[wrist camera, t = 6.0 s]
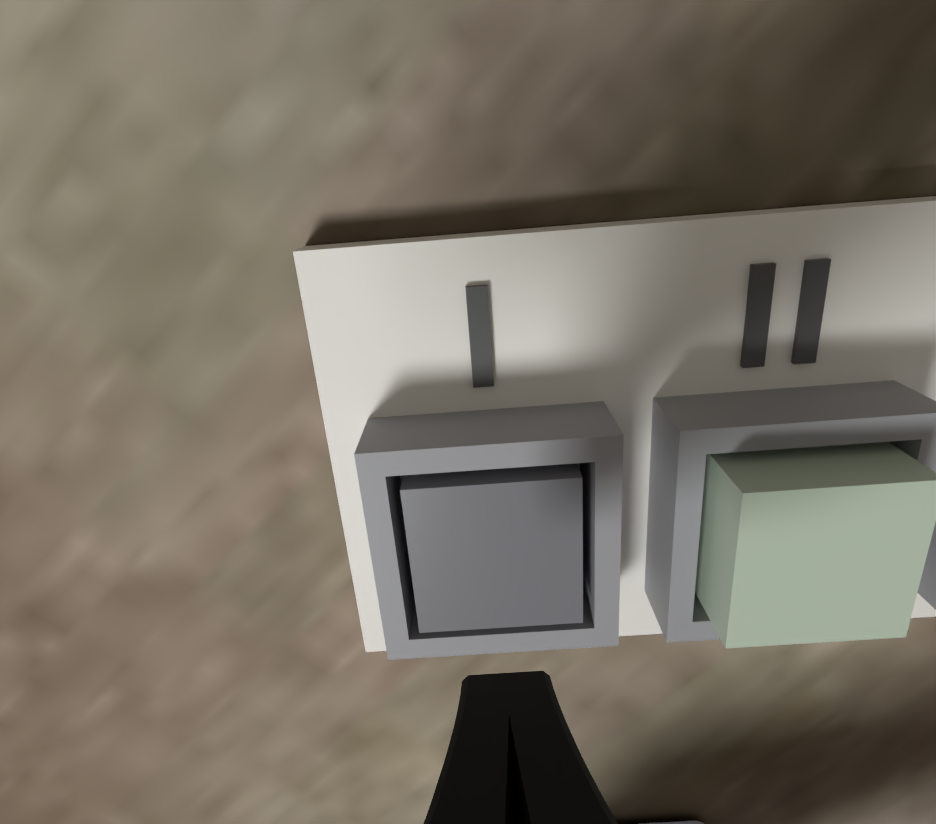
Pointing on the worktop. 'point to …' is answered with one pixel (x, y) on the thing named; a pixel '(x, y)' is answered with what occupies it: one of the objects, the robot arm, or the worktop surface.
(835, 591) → the key two
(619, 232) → the keypad
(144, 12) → the worktop surface
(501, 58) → the worktop surface
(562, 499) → the key one
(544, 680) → the robot arm
